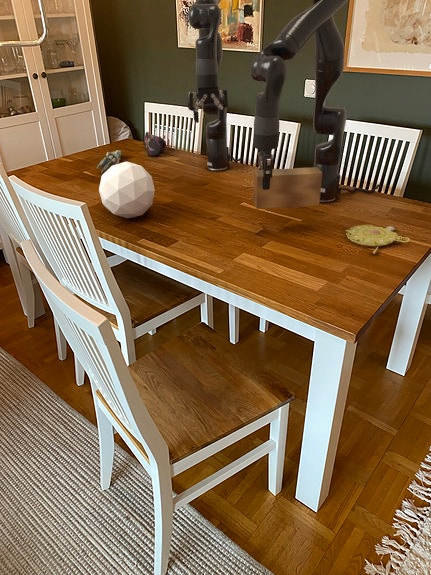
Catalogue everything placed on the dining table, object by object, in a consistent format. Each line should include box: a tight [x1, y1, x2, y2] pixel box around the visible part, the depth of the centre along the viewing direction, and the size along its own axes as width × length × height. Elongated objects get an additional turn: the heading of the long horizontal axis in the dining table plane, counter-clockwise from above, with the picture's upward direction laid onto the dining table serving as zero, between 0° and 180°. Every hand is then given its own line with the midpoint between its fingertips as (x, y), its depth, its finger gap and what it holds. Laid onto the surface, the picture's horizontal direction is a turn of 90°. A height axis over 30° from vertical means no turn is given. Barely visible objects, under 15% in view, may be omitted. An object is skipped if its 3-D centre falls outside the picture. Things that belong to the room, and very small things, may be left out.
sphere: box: [98, 160, 156, 220], centre depth 157 cm, size 19×20×20 cm
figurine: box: [96, 150, 123, 174], centre depth 213 cm, size 7×8×30 cm
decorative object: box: [345, 223, 411, 255], centre depth 140 cm, size 21×2×20 cm
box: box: [253, 166, 322, 210], centre depth 141 cm, size 20×6×11 cm, turn 94°
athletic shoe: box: [143, 131, 170, 157], centre depth 230 cm, size 11×22×12 cm
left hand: (208, 121), depth 161 cm, fingers open, 8 cm apart
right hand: (264, 185), depth 140 cm, fingers closed on box, 6 cm apart
